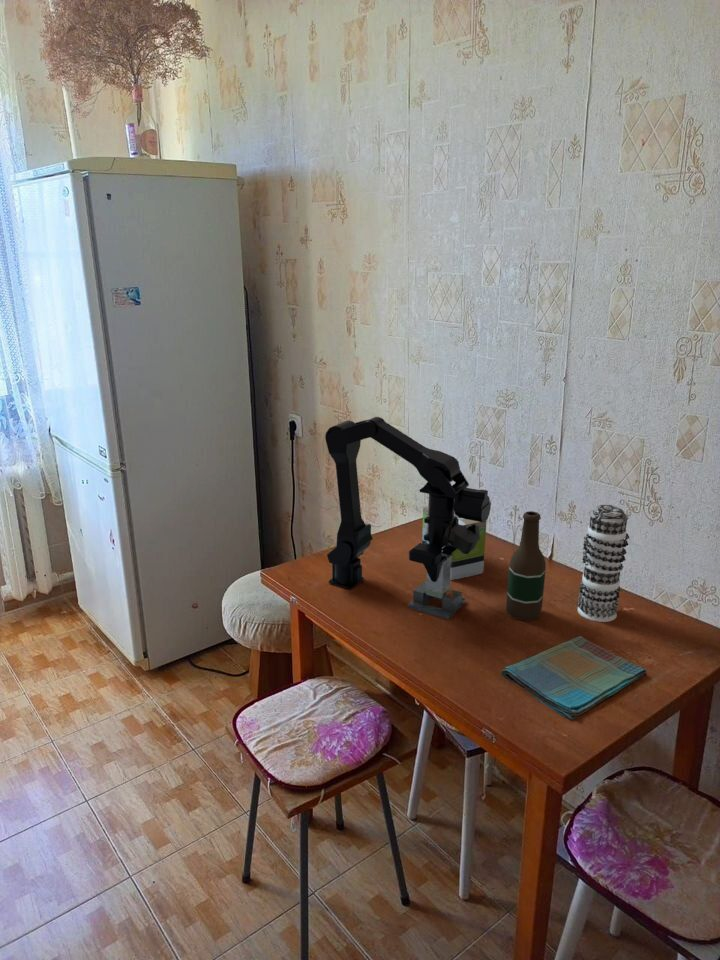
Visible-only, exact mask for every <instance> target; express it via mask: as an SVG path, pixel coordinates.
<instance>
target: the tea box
mask: <svg viewBox="0 0 720 960" xmlns="http://www.w3.org/2000/svg"><path fill="white" fill-rule="evenodd" d="M422 509H423V510H422V511H423V512H422V539H421V543H423V544H429V541H426V540H424V535H426V534H427V529H428V523H424V518H426V517H427V516H428V506H423V508H422ZM454 516H456V515H455V512H454ZM456 517H457V519H459V521H458V524H459V525H463V526H466V528H467V527H469V526H470V525H472V524H473V523H474V524H476V525H477V526H479V534H480V536H479V537H480V540H478V541H477V543H476V546H475V548H474V549H473V550H472V551H471V552H470V553H469V554H464V553H462V552H461V551H460V550H459V549H456V550H455V551H453V553H452V556H451V570H450V581H455V579H456V580H460V579H463V578H464V577H465V578H468V577H473V576H477V575H480V574H483V573H484V567H485V553H486V552H485V549H486V536H487V535H486V533H487V521H486V522H484V523H483V522H478V521H473V520H468V519H463V518H459V517H458V516H456Z"/></svg>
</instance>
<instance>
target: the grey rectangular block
mask: <svg viewBox="0 0 720 960" xmlns="http://www.w3.org/2000/svg"><path fill="white" fill-rule="evenodd" d="M442 556H444V557H446V558H445V559H444V560H443V561H442V562H441V563H440V567H439V572H438V577H437V581H436V582H433V581H431V579H430V577H429V575H428V573H427V572H426V581H425V583H426V590H425V593H426V595H430V596H434V597H437V598H441V599H442V598H443V597H444V596H445V595H446V593H447V592H448V591H451V580H450V570H451V556H450V555H446V554H442Z"/></svg>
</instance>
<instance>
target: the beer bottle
mask: <svg viewBox="0 0 720 960" xmlns="http://www.w3.org/2000/svg"><path fill="white" fill-rule="evenodd" d="M541 518H542V517H541V514H540V513H539V512H536V511H525V512H524V513H523V515H522V519H523V524H522V529H521V537H520V543H519V546H518V548H517V549H516V550H515V551H514V552H513V554H512V556H511V558H510V561H509V564H508V565H509V567H508V578H507V591H506V592H507V593H506V609H505V610H506V612H507V613H508V614H509V616H510V617H511V619H516V620H519V621H521V622H529V621H536V620H537V619H538V618H539V617H540V615H541V614H542V609H543V599H544V589H545V580H546V579H545V578H546V567H547V566H546V559H545V557H544V554H543V552H542V551H541V550H540V537H539V536H540V520H541Z"/></svg>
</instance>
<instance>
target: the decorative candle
mask: <svg viewBox="0 0 720 960" xmlns="http://www.w3.org/2000/svg"><path fill="white" fill-rule="evenodd" d="M588 515H589V516H590V519H589V524H588V526H587V533H586V534H585V536H584V537H583V544H582V545H583V547H582V548H583V550H584V551H583V552H582V554H583V555H582V565H583V566H584V568H583V573H582V580H580V582H579V583H580V584H579V586H580V587H579V594H578V601H577V613H578V614H579V615H580V616H581V617H583V618H584V619H586V620H588V621H589V620H590V621H592V622H600V623H607V622H611V621H614V620H615V619H616V618H617V612H618V611H619V609H618V606H619V598H620V597H621V595H620V592H621V586H620V582H621V580H620V577H621V572H622V570H623V569H624V568H625V567H624V565H623V562H625V561H626V556H625V555H627V551H626V550H627V549H626V547H627V546H629V543H628V540H629V539H630V535H629V534H628V533H627V523H628V520H629V518H630V517H629V515H627V514H626V513H625V511H624V510H623V509H622V508H621V507H620V506H616V505H613V504H601V505H600V504H599V505H597V506H596V507H594V508H593V509H591V510H590V511H589V512H588Z"/></svg>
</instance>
